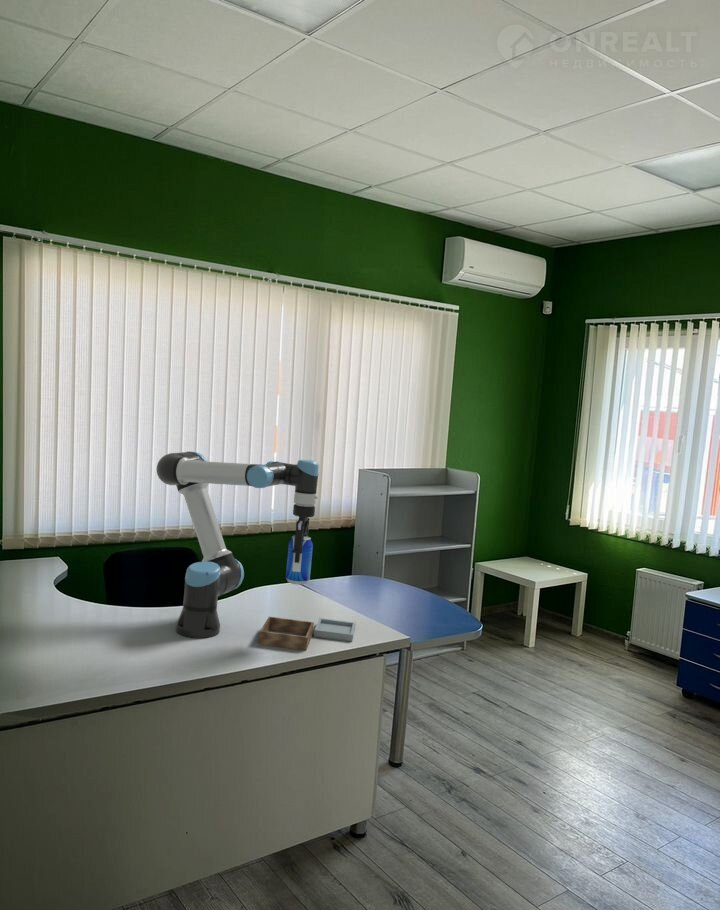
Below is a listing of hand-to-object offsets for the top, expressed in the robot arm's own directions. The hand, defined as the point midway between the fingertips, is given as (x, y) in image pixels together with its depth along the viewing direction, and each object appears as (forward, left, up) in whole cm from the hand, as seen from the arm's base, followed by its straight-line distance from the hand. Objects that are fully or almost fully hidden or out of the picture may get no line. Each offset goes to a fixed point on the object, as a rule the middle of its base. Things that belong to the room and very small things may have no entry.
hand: (298, 568), depth 252 cm
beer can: (0, 0, -5) cm, 5 cm away
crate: (-2, -1, -26) cm, 26 cm away
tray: (+14, +12, -26) cm, 32 cm away
